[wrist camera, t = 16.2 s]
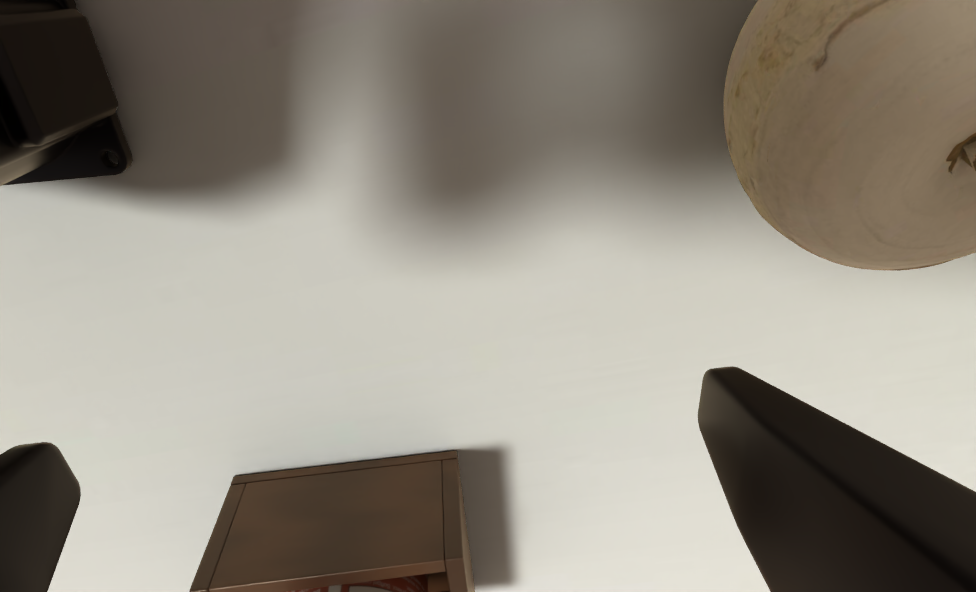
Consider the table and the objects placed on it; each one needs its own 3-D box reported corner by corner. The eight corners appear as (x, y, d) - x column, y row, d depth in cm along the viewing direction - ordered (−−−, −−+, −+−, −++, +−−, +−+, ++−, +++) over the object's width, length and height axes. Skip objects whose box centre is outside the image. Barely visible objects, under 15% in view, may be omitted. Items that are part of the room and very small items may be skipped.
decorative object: (909, -158, 16) (1465, -315, 8) (948, 115, 20) (1339, 219, 12) (625, 15, 18) (816, 52, 9) (714, 238, 22) (905, 412, 13)
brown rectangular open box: (287, 610, 30) (260, 730, 25) (233, 476, 25) (187, 591, 21) (474, 586, 31) (483, 699, 26) (456, 449, 26) (463, 557, 21)
